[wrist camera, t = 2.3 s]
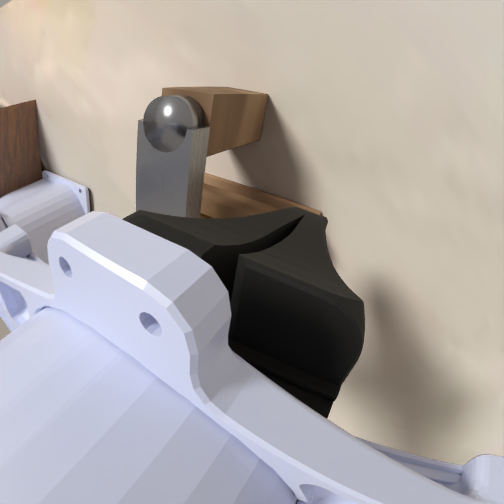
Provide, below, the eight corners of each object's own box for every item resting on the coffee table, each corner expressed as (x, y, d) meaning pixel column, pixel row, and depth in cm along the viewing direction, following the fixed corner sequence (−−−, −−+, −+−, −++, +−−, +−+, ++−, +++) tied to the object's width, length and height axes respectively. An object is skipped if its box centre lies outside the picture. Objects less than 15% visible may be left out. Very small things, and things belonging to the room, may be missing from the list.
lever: (154, 314, 20) (143, 324, 19) (159, 91, 12) (140, 93, 11) (192, 334, 19) (181, 346, 18) (214, 99, 11) (196, 100, 10)
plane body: (158, 261, 26) (111, 295, 21) (167, 80, 18) (101, 84, 13) (286, 321, 23) (254, 375, 18) (347, 114, 15) (324, 118, 10)
